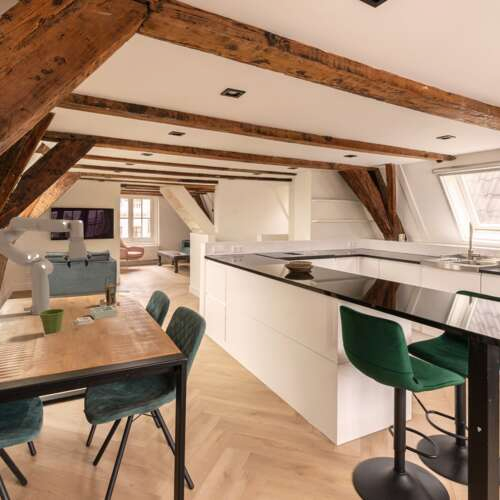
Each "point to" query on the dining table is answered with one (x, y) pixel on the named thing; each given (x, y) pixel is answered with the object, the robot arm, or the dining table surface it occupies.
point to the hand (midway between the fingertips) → (77, 267)
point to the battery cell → (103, 305)
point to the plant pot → (52, 320)
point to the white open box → (102, 312)
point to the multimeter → (110, 294)
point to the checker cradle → (83, 320)
